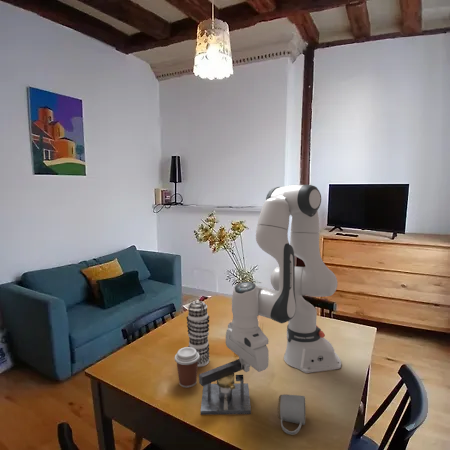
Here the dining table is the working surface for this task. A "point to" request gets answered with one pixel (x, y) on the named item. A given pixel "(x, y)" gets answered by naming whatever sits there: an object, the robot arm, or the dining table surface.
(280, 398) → the ceramic mug
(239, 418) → the dining table surface
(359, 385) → the dining table surface
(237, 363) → the grey lintel crossbar
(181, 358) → the coffee cup
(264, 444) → the dining table surface
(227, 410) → the post base
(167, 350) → the dining table surface
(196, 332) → the grey ridged column
